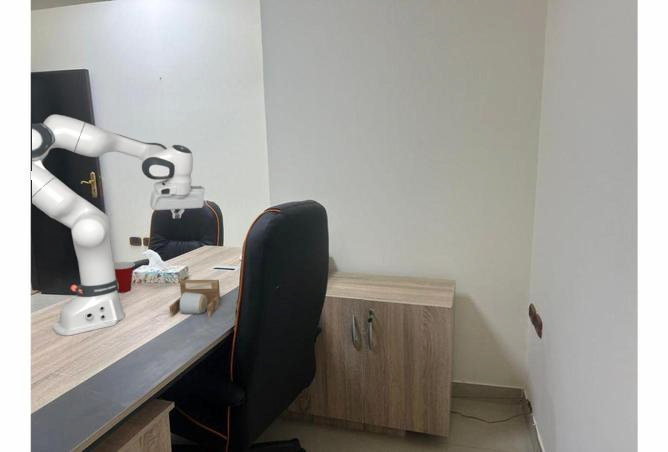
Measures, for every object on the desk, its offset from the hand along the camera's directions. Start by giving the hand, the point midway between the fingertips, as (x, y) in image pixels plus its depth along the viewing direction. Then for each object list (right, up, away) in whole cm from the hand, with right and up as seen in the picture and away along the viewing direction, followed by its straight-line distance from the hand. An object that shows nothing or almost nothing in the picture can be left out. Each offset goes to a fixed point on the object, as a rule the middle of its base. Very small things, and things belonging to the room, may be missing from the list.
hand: (176, 217), depth 181 cm
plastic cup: (-27, -32, +14) cm, 44 cm away
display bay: (+12, -35, -13) cm, 39 cm away
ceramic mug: (+12, -36, -14) cm, 40 cm away
